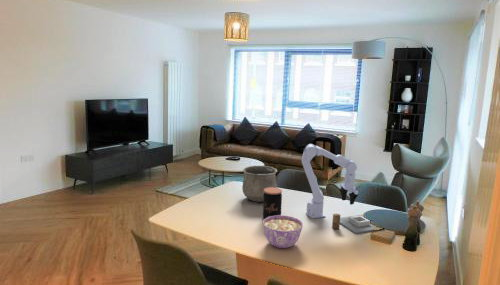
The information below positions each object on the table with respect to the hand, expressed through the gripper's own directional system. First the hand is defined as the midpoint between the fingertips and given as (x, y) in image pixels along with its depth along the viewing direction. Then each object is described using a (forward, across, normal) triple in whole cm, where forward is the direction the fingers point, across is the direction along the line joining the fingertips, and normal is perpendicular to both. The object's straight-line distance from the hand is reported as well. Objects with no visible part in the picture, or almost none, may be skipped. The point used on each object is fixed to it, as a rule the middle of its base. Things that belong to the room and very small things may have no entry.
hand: (347, 202), depth 218 cm
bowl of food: (+10, -18, +54) cm, 58 cm away
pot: (+10, +45, +38) cm, 60 cm away
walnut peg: (+10, -11, +16) cm, 22 cm away
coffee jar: (+10, +12, +45) cm, 47 cm away
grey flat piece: (+10, -12, 0) cm, 15 cm away
